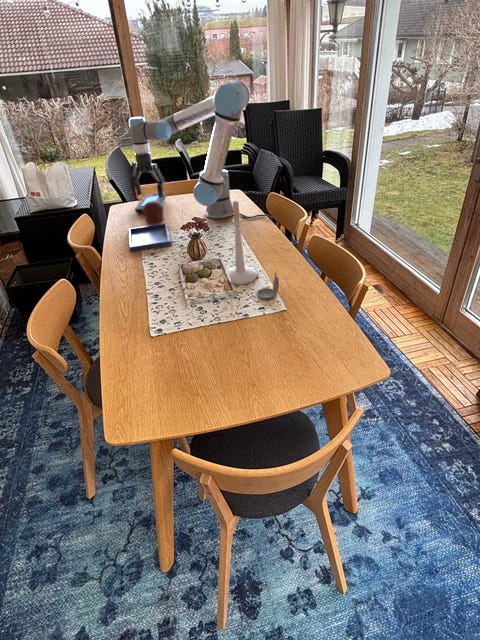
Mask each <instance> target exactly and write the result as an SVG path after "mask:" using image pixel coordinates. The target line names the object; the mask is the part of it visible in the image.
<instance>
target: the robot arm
mask: <svg viewBox="0 0 480 640" xmlns="http://www.w3.org/2000/svg"><path fill="white" fill-rule="evenodd" d="M250 91H251V90H250V88H249V86H248V85H247V83H246V82H245V81H242V80H239V79H235V80H231V81H228V82H227V81H226V82H224V83H222V84H221V85H219V86H218V88H217V89H216V90H215V91H214V95H213V96H210V97H207V98H206V99H204V100H202V101H200V102H197V103H195V104H193V105H190V106H189V107H187V108H184V109H182V110H180V111H178V112H176V113H174V114H172V115H169V116H166V117H164V118H162V119H160V120H157V121H146V118H145V117H143V116H134V117H130V118H129V119H128V125H129V131H130V136H131V141H132V148H133V153H134V157H135V161H133V162H131V172H130V176H129V181H130V182H133V185H134V189H135V192H136V196H138V197H139V196H141V195H142V193H143V192H142V189H141V185H140V181H139V179H140V177H141V176H142V173H143V174H144V173H145V174H148V175H150V176H151V178H152V179H153V180H154V182H155V183H157V185H156V189H157V193H158V195H159V198H161V197H163V192H164V186H163V184H165V183H166V180H165V177H164V175H163V174H162V172H161V171H160V168H159V165H158V163H157V162H155V163H152V153H151V152H150V151H151V149H150V142H149V141H150V140H151V141H153V140H154V141H166V140H170V139H171V137H172V135H173V134H176V133H178V132H180V131H183V130H185V129H186V128H189V127H192V126H193V125H196V124H199V123H201V122H203V121H205V120H207V119H210V118H212V117H215V121H214V125H213V130H212V134H211V139H210V143H209V147H208V152H207V156H206V160H205V164H204V169H203V170H202V171H200V172H199V176H198V181H197V183H196V184H195V186H194V188H193V191H192V193H193V198H195V200H196V202H197V203H198V204H199V205H202V206H204V207H206V209H204V210H205V215H206V217H207V218H210V219H214V220H221V219H227V218H230V217H232V216H234V211H233V201H232V200H231V196H230V195H231V192H230V179H229V177H230V176H229V172H228V170H226V169H224V168H225V163H226V160H227V157H228V152H229V148H230V144H231V141H232V137H233V133H234V129H235V125H236V124H237V123H239V122H240V120H241V116H242V112H243V110H244V109H245V108H246V107H247V106H248V104H249V103H250V100H251V92H250ZM239 216H241V217H243V218H246V219H254V218H258V217H268V218H269V219H270V220H272V221H273V220H274V219H273V217H272V216H271V215H269V214H256V215H252V216H246V215H245V214H242V213H240V212H239Z"/></svg>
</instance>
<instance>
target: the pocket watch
mask: <svg viewBox="0 0 480 640" xmlns="http://www.w3.org/2000/svg"><path fill="white" fill-rule="evenodd" d="M277 272H278V270H276V271H275V273H274V274H273V275H274V278H273V280H272V281H273V282H272V288H270V287H263V288H260V289H259V290H257V291H256V295H257V297H258V298H260V299H263V300H269V299H273V298H274V297H275V296H277V295H278V292H279V286H280V285H279V283H280V280H279V276H278V275H277Z"/></svg>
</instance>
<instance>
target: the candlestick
mask: <svg viewBox="0 0 480 640" xmlns="http://www.w3.org/2000/svg"><path fill="white" fill-rule="evenodd" d="M232 205H233V211H234V215H233V219H231V221H232V222H233V226H234V248H235V249H234V250H235V251H234V252H235V253H234V254H235V255H234V256H235V267H232V268H229V269H228V270H226V272H228V274H229V277H230V279H231V282H232V283H231V284H233V285H246V284H249V283H252V282H254V281H255V280H256V279H257V278H258V272H257V270H255V269H254V268H252V267H250V266H246V264H245V257H244V250H243V241H242V233H241V228H240V227H241V225H242V223H241V222H242V221H243V220H242V218H241V217H240V215H239V213H240V206H239V205H240V204H239V200H233V201H232Z"/></svg>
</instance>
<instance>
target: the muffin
mask: <svg viewBox="0 0 480 640" xmlns="http://www.w3.org/2000/svg"><path fill="white" fill-rule="evenodd" d="M164 208H165V206H164V204H163V203H162V204H161V203H160V202H158V201H149V202H147V203H146V204H145V205H144V207H143V209H142V211H143V213H142V214H143V215H144V218H145V220H146V222H147V223H148V224H160V223H162V222H163V221H164V218H165V217H164Z"/></svg>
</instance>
